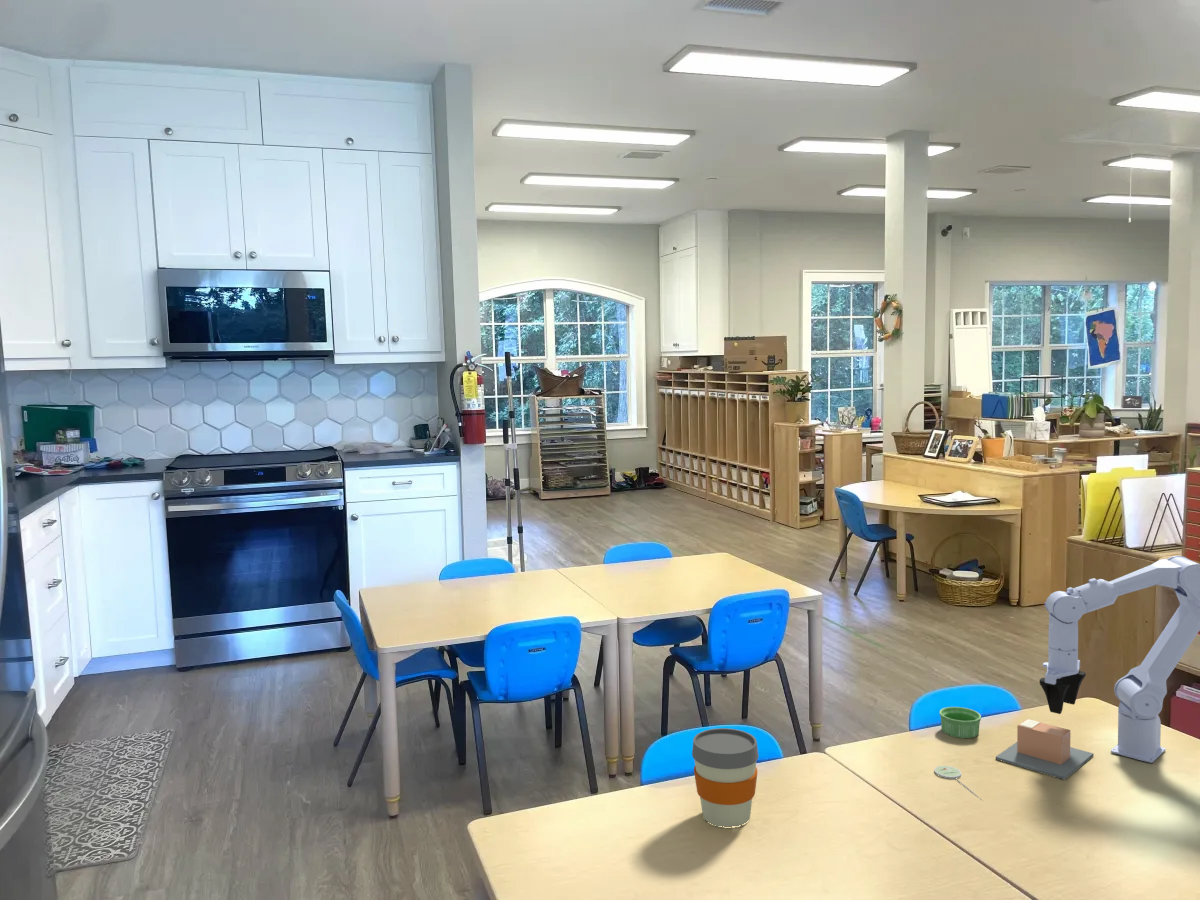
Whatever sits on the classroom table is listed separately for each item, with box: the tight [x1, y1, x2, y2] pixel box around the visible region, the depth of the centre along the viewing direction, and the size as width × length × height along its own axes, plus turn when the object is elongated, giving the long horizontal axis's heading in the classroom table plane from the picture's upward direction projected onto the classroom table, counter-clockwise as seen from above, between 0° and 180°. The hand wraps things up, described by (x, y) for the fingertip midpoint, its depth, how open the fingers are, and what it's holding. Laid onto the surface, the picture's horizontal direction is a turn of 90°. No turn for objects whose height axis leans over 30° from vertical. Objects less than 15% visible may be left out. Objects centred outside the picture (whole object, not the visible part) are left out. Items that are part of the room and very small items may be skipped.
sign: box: [934, 765, 983, 801], centre depth 177 cm, size 5×1×15 cm
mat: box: [995, 741, 1094, 780], centre depth 187 cm, size 16×14×1 cm
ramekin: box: [939, 706, 982, 739], centre depth 202 cm, size 9×9×4 cm
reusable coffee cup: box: [691, 727, 759, 827], centre depth 166 cm, size 13×13×15 cm
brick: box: [1016, 718, 1071, 764], centre depth 187 cm, size 9×5×6 cm, turn 42°
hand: (1062, 707), depth 191 cm, fingers open, 7 cm apart
